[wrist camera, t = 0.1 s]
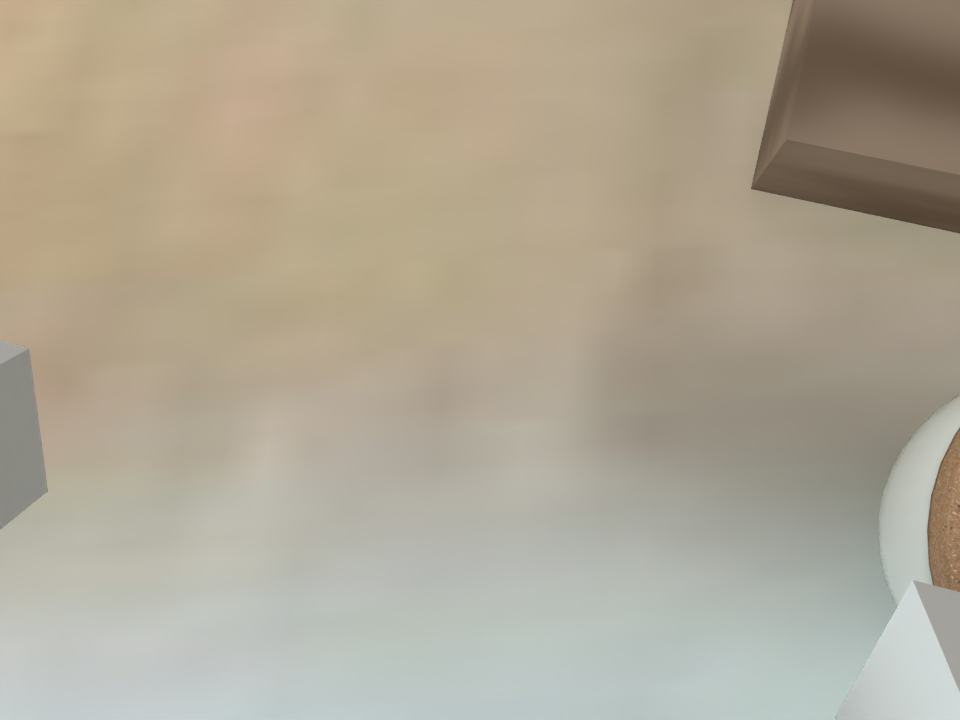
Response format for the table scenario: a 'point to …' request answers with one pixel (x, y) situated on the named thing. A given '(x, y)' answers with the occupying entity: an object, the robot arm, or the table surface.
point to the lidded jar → (924, 507)
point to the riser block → (868, 110)
